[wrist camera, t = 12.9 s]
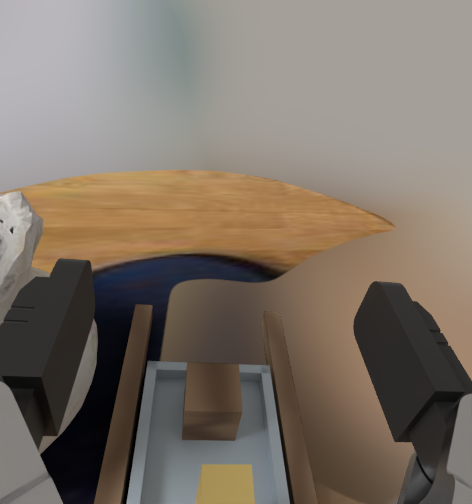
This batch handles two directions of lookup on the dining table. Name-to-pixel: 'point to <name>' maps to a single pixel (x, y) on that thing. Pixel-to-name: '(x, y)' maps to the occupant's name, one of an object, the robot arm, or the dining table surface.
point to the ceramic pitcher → (20, 273)
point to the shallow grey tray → (206, 446)
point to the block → (211, 402)
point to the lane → (128, 398)
